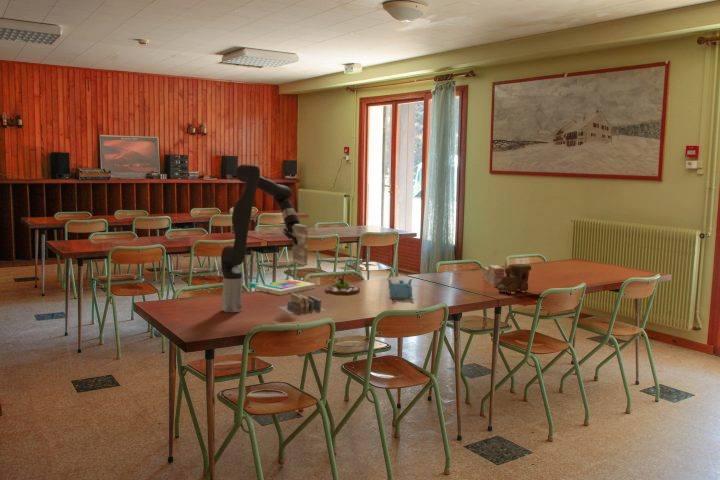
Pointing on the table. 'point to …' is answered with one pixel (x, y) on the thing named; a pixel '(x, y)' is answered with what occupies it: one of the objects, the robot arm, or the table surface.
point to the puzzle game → (283, 286)
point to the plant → (342, 287)
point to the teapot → (400, 289)
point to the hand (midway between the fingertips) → (299, 244)
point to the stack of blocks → (493, 274)
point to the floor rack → (293, 308)
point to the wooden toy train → (515, 278)
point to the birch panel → (300, 244)
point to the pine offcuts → (300, 301)
